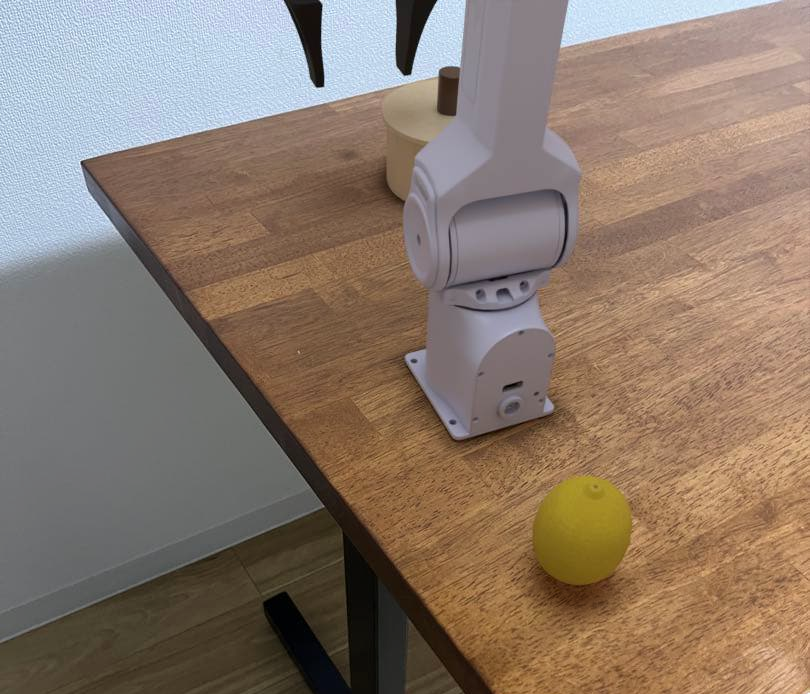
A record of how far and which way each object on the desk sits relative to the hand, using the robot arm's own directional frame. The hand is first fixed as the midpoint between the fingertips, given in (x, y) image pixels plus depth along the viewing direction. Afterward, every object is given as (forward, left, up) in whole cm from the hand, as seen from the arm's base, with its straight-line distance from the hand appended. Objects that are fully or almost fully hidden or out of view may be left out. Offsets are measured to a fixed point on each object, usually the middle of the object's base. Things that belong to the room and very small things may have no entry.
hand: (361, 76), depth 68 cm
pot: (-1, -8, -10) cm, 13 cm away
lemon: (-46, +4, -10) cm, 47 cm away
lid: (-1, -8, -4) cm, 9 cm away
